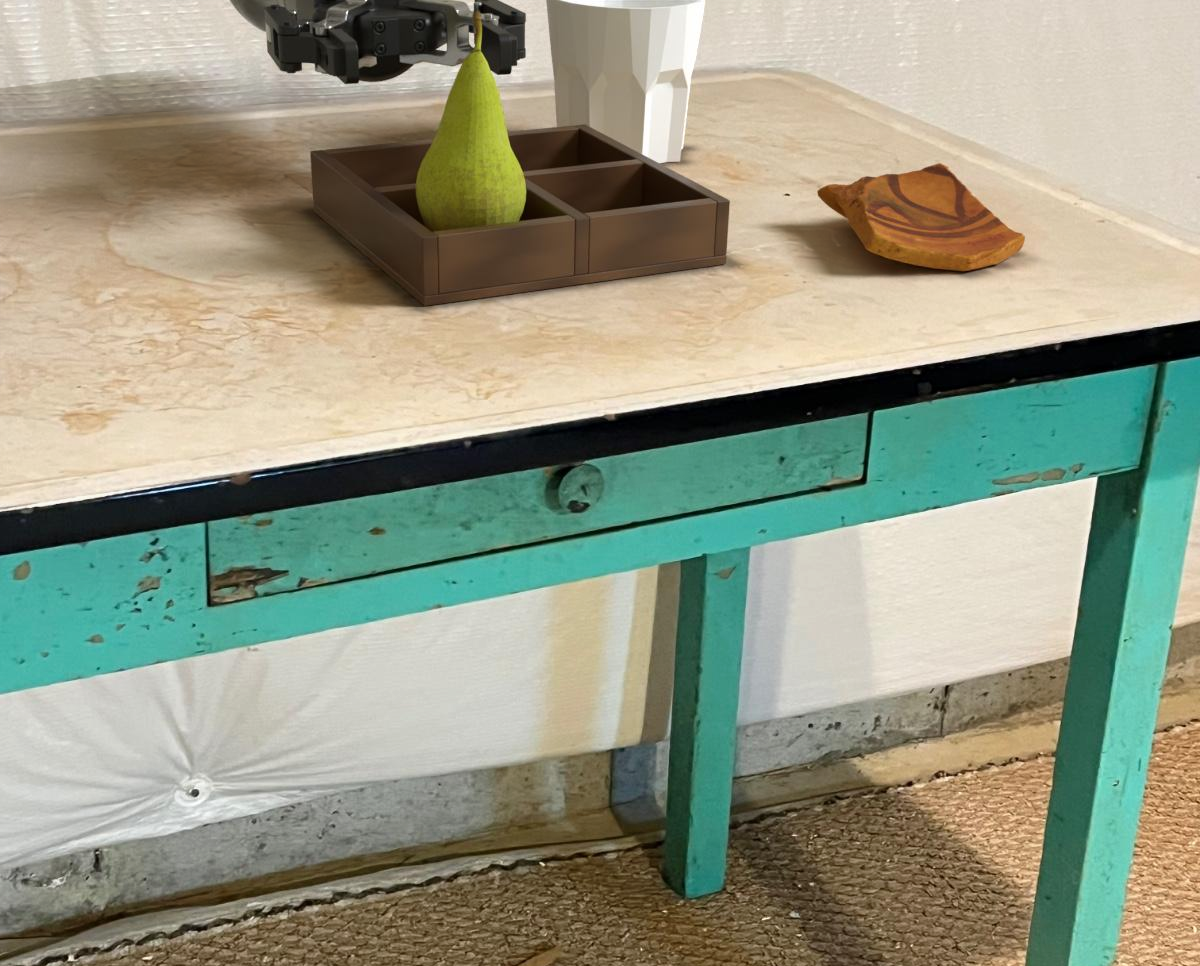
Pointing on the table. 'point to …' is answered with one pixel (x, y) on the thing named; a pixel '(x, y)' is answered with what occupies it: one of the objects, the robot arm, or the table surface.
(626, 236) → the grid
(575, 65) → the cup
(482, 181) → the fruit
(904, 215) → the pottery fragment
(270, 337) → the table surface
